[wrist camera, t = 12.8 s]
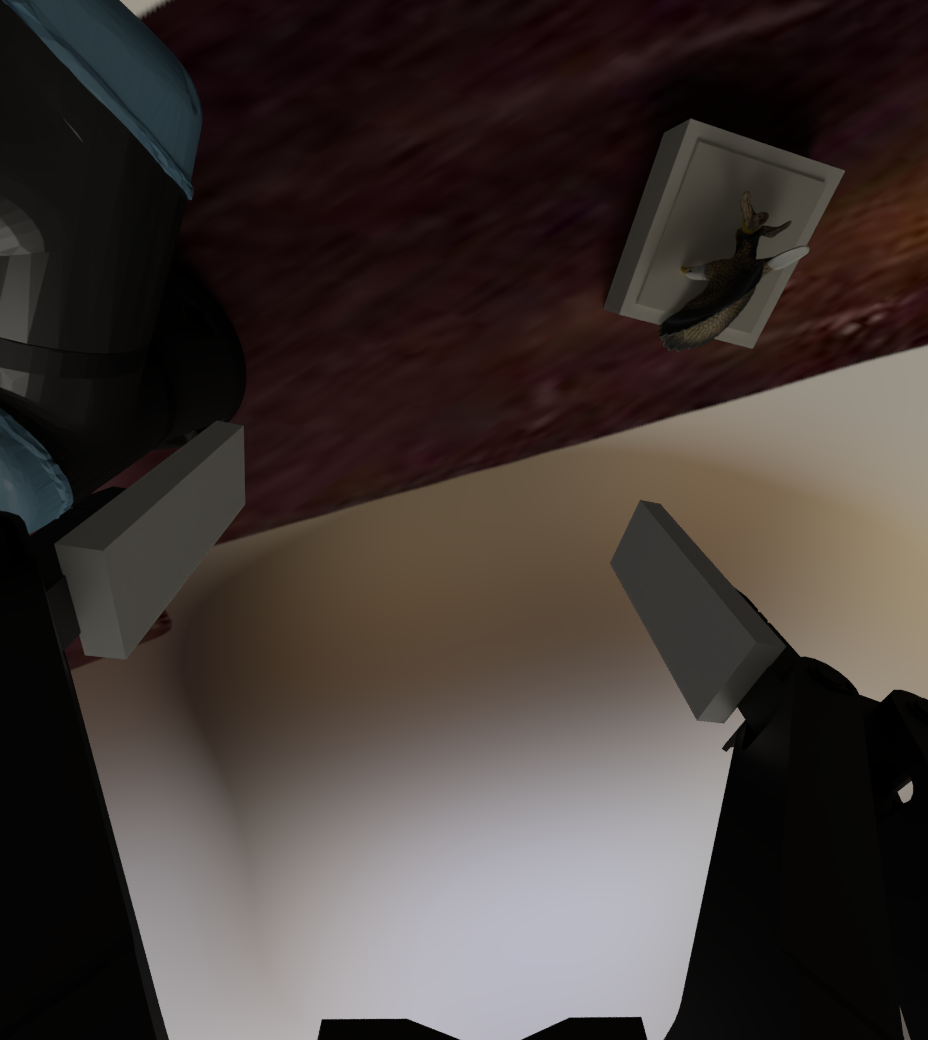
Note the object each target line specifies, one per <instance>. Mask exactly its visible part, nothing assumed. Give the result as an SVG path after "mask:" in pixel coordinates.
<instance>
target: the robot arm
mask: <svg viewBox="0 0 928 1040" xmlns="http://www.w3.org/2000/svg"><path fill="white" fill-rule="evenodd" d="M201 126H202V108H201V103H200V99H199V96H198V93H197V90H196V88H195V86H194V84H193V82H192V79H191V78H190V76H189V74H188V73H187V71H186V70H185V68H184V67H183V65H182V64H181V63H180V61H179V60H178V59H177V58H176V56H175V55H174V54H173V53H172V52H171V51H170V50H169V49H168V47H167V46H166V45H165V44H164V43H163V42H162V41H161V40H160V39H159V38H158V37H157V36H156V35H155V34H154V33H153V32H152V31H151V30H150V29H149V28H148V27H147V26H146V25H145V24H144V23H143V22H142V21H141V20H140V19H139V18H138V17H136V16H135V15H134V14H133V13H132V12H131V11H130V10H129V9H128V8H127V7H126V6H125V5H124V4H123V3H122V2H121V1H120V0H0V1040H169V1038H168V1035H167V1032H166V1028H165V1025H164V1021H163V1017H162V1014H161V1010H160V1007H159V1003H158V999H157V996H156V992H155V988H154V984H153V980H152V976H151V973H150V969H149V965H148V962H147V958H146V954H145V950H144V946H143V942H142V939H141V935H140V931H139V928H138V924H137V920H136V916H135V912H134V909H133V905H132V901H131V898H130V894H129V890H128V886H127V882H126V879H125V875H124V871H123V867H122V863H121V860H120V856H119V852H118V848H117V845H116V841H115V837H114V834H113V830H112V826H111V822H110V818H109V814H108V811H107V807H106V803H105V799H104V796H103V792H102V788H101V784H100V781H99V777H98V773H97V769H96V765H95V762H94V758H93V754H92V750H91V747H90V743H89V739H88V735H87V732H86V728H85V724H84V720H83V717H82V713H81V709H80V705H79V702H78V698H77V694H76V690H75V687H74V683H73V679H72V675H71V671H70V667H69V664H68V660H67V657H66V654H65V649H66V648H67V647H68V646H69V645H70V644H71V643H72V642H73V641H74V640H75V639H76V637H77V636H78V635H80V639H81V643H82V646H83V650H84V653H85V655H89V656H98V657H107V658H117V659H127V658H128V656H129V655H130V654H131V653H132V651H133V650H134V649H135V647H136V646H137V645H138V643H139V642H140V641H141V639H142V638H143V637H144V636H145V634H146V633H147V632H148V630H149V629H150V628H151V626H152V625H153V624H154V623H155V621H156V620H157V619H158V617H159V616H160V615H161V613H162V612H163V611H164V609H165V608H166V607H167V605H168V604H169V603H170V602H171V600H172V599H173V598H174V596H175V595H176V594H177V593H178V591H179V590H180V588H181V587H182V586H183V585H184V583H185V582H186V581H187V579H188V578H189V577H190V575H191V574H192V573H193V571H194V570H195V569H196V568H197V566H198V565H199V564H200V562H201V561H202V560H203V558H204V557H205V556H206V555H207V553H208V552H209V551H210V549H211V548H212V547H213V546H214V544H215V543H216V542H217V540H218V539H219V538H220V536H221V535H222V534H223V532H224V531H225V530H226V529H227V527H228V526H229V525H230V523H231V522H232V521H233V519H234V518H235V517H236V516H237V514H238V513H239V512H240V510H241V509H242V508H243V506H244V505H245V474H244V428H243V426H242V425H237V424H232V423H228V422H229V421H230V420H231V419H232V418H233V417H234V415H235V414H236V412H237V411H238V409H239V407H240V405H241V402H242V400H243V396H244V393H245V387H246V367H245V360H244V355H243V352H242V348H241V346H240V343H239V340H238V338H237V335H236V333H235V331H234V329H233V328H232V326H231V324H230V322H229V321H228V319H227V318H226V316H225V315H224V313H223V312H222V311H221V309H220V308H219V307H218V306H217V304H216V303H215V302H214V301H213V300H212V299H211V298H210V297H209V296H208V295H207V294H206V293H205V292H204V291H203V290H202V289H201V288H200V287H199V286H197V285H196V284H195V283H194V282H192V281H191V280H190V279H188V278H187V277H185V276H184V275H182V274H181V273H179V272H177V271H175V270H174V269H172V268H170V266H171V262H172V258H173V254H174V250H175V246H176V242H177V239H178V235H179V231H180V227H181V223H182V219H183V215H184V211H185V208H186V204H187V200H188V199H189V200H192V197H193V194H194V191H193V187H192V185H191V178H192V172H193V167H194V162H195V157H196V152H197V147H198V141H199V136H200V131H201ZM177 447H181V448H180V449H179V450H177V451H176V452H175V453H173V454H172V455H171V456H169V457H168V458H167V459H165V460H164V461H163V462H162V463H160V464H159V465H158V466H156V467H155V468H154V469H152V470H151V471H150V472H148V473H147V474H146V475H144V476H143V477H142V478H140V479H139V480H138V481H137V482H135V483H134V484H133V485H131V486H130V487H129V488H127V489H126V488H120V487H114V486H113V487H110V488H107V489H105V490H102V491H99V492H96V493H93V494H91V493H92V492H94V491H95V490H97V489H98V488H100V487H101V486H102V485H104V484H105V483H107V482H108V481H109V480H111V479H112V478H114V477H115V476H117V475H118V474H119V473H121V472H122V471H124V470H125V469H127V468H128V467H129V466H131V465H132V464H134V463H135V462H136V461H138V460H139V459H141V458H142V457H144V456H145V455H146V454H148V453H149V452H150V451H153V450H161V449H169V448H177ZM90 494H91V495H90ZM88 495H89V496H88ZM85 497H86V498H85ZM78 502H79V503H78ZM75 504H76V505H75ZM71 507H73V509H70V508H71ZM43 526H44V527H43ZM41 527H43V528H41ZM39 528H41V529H40V530H38V531H37V532H35V533H34V534H33V535H31V536H30V537H29V534H30V533H32V532H33V531H35V530H37V529H39ZM610 564H611V566H612V568H613V570H614V571H615V573H616V575H617V577H618V578H619V580H620V582H621V584H622V586H623V588H624V589H625V591H626V593H627V595H628V597H629V599H630V600H631V602H632V604H633V606H634V608H635V609H636V611H637V613H638V615H639V616H640V618H641V620H642V622H643V624H644V626H645V627H646V629H647V631H648V633H649V634H650V636H651V638H652V640H653V642H654V644H655V645H656V647H657V649H658V651H659V653H660V654H661V656H662V658H663V660H664V662H665V663H666V665H667V667H668V669H669V671H670V672H671V674H672V676H673V678H674V680H675V682H676V683H677V685H678V687H679V689H680V690H681V692H682V694H683V696H684V698H685V700H686V701H687V703H688V705H689V707H690V709H691V710H692V712H693V714H694V716H695V718H696V719H697V720H698V721H707V722H717V723H724V722H725V721H726V720H727V719H728V718H729V717H730V715H731V714H732V713H733V712H734V710H735V709H736V708H737V707H738V708H739V710H740V712H741V713H742V715H743V716H744V718H745V719H746V720H745V721H744V722H743V724H742V725H741V726H740V727H739V728H738V729H737V731H736V732H735V733H734V734H733V735H732V737H731V738H730V739H729V740H728V741H727V742H726V744H725V745H724V746H723V748H722V749H723V750H725V751H726V752H727V751H728V749H729V748H730V747H734V749H733V754H732V759H731V764H730V769H729V774H728V779H727V783H726V788H725V793H724V798H723V802H722V807H721V812H720V817H719V822H718V827H717V831H716V837H715V841H714V846H713V851H712V856H711V861H710V865H709V871H708V875H707V880H706V885H705V890H704V894H703V899H702V904H701V909H700V914H699V918H698V923H697V928H696V933H695V938H694V943H693V948H692V952H691V957H690V962H689V967H688V972H687V976H686V981H685V987H684V991H683V996H682V1001H681V1004H680V1008H679V1011H678V1014H677V1016H676V1019H675V1021H674V1023H673V1025H672V1027H671V1028H670V1030H669V1032H668V1033H667V1035H666V1037H665V1039H664V1040H904V1036H903V1030H902V1022H901V1015H900V1008H901V1011H902V1014H903V1017H904V1021H905V1023H906V1027H907V1029H908V1033H909V1036H910V1039H911V1040H928V700H927V699H925V698H921V697H919V696H917V695H915V694H913V693H910V692H907V691H903V690H893V691H892V692H891V693H890V694H889V695H888V696H887V697H886V698H885V699H884V700H883V701H882V702H878V701H875V700H873V699H870V698H867V697H865V696H862V695H859V693H858V691H857V689H856V688H855V687H854V685H853V684H852V683H851V682H850V681H849V680H848V679H847V678H846V677H844V676H843V675H842V674H841V673H840V672H839V671H837V670H835V669H834V668H832V667H831V666H829V665H827V664H825V663H823V662H821V661H819V660H816V659H814V658H809V657H800V656H799V655H798V654H797V653H796V651H795V650H794V649H793V648H792V647H791V646H790V645H789V644H788V642H787V641H786V640H785V639H784V638H783V637H782V636H781V635H780V633H779V632H778V631H777V630H776V629H775V628H774V627H773V626H772V625H771V624H770V623H768V622H767V619H766V618H765V617H764V616H763V614H762V613H761V612H758V609H757V608H756V607H755V606H754V604H753V603H752V602H751V601H750V600H749V599H748V598H747V597H746V596H745V595H744V594H742V593H741V592H739V591H738V590H737V589H736V588H734V587H733V586H732V585H731V583H730V582H729V581H728V580H727V579H726V578H725V577H724V576H723V574H722V573H721V572H720V571H719V570H718V569H717V568H716V567H715V565H714V564H713V563H712V562H711V561H710V560H709V559H708V557H706V555H705V554H704V553H703V552H702V551H701V550H700V549H699V547H698V546H697V545H696V544H695V543H694V542H693V541H692V539H690V537H689V536H688V535H687V534H686V533H685V531H684V530H683V529H682V528H681V527H680V526H679V525H678V524H677V522H676V521H675V520H674V519H673V518H672V517H671V516H670V515H669V513H668V512H667V511H666V510H665V509H664V508H663V507H662V505H661V504H658V503H652V502H647V501H642V500H640V501H639V503H638V505H637V508H636V510H635V512H634V514H633V516H632V518H631V520H630V522H629V525H628V527H627V529H626V531H625V533H624V535H623V537H622V539H621V541H620V543H619V545H618V547H617V550H616V552H615V554H614V556H613V558H612V560H611V562H610ZM910 781H912V783H913V795H912V797H911V800H909V801H908V802H906V803H903V802H902V801H901V799H900V797H899V794H898V791H899V790H900V789H902V788H903V787H904V786H905V785H907V784H908V783H909V782H910ZM899 1005H900V1006H899ZM318 1040H459V1039H457V1038H454V1037H452V1036H449V1035H447V1034H444V1033H442V1032H439V1031H437V1030H434V1029H432V1028H429V1027H426V1026H424V1025H421V1024H419V1023H416V1022H413V1021H411V1020H409V1019H322V1021H321V1026H320V1030H319V1035H318ZM522 1040H647V1037H646V1033H645V1029H644V1025H643V1022H642V1018H641V1017H590V1018H589V1017H588V1018H586V1017H585V1018H568V1019H566V1020H563V1021H561V1022H559V1023H557V1024H555V1025H552V1026H550V1027H548V1028H546V1029H544V1030H541V1031H539V1032H537V1033H535V1034H533V1035H531V1036H529V1037H526V1038H524V1039H522Z"/></svg>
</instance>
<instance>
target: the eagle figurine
mask: <svg viewBox="0 0 928 1040" xmlns="http://www.w3.org/2000/svg"><path fill="white" fill-rule="evenodd" d="M750 197H751V196H750V193H749V191H746V192H744V194H743V196H742V198H741V201H740V207H741V212H742V213H743V216H742V227H741V228H739V229H738V230H737V232H736V235H735V237H736V243H737V244H736V252H735V253H734V256H733V257H732V258H730V259H720V260H717V261H712V262H709V263H706V264H703V265H699V266H694V267H689V268H686V267H684V266H682V267H681V272H682V273H683V274H685V275H686V276H687V277H689V278H691V279H694V280H705V281H709V283H708V284H707V286H706V288H705V289H704V290H703V291H702V292H701V293H700V294H699V295H697V296H696V297H694V298H693V299H691V300H690V301H689V302H688V303H686V304H685V306H684V307H683V308H682V309H681V310H680V311H679V312H676V313H675V314H673V315H671V316H670V317H669V318H667V319H666V320H665V321H664V322H663V323H662V324H661V325H660V328H661V329H660V331H659V333H660V335H659V337H661V340H663V341H664V343H663V346H664V347H668V350H669V351H672V350H675V349H677V351H682V350H684V349H685V348H687V347H688V349H692V348H693V347H695V346H696V347H700V346H701V345H704V344H706V343H707V342H708V341H711V340H713V339H714V338H715V337H717V336H719V335H720V333H721V332H722V331H724V330H725V329H726V328H727V327H728V326H729V325H730V323H731V322H733V321H734V319H735V318H736V317H738V315H739V314H740V312H741V311H743V309H744V308H745V306H746V305H747V303H748V302H749V301H750V299H751V297H752V295H753V294H754V290H755V289H756V286H757V284H758V283H759V282H760V280H761V278H762V277H763V276H765V275H766V274H768V273H769V272H771V271H772V270H779V269H782V268H785V267H787V266H789V265H790V264H792V263H793V262H795V261H796V260H798V259H800V258H802V257H803V256H805V255H806V254H807V253H809V249H810V247H809V246H798V247H795V248H792V249H790V250H787V251H785V252H782V253H780V254H778V255H776V256H774V257H769V258H764V259H756V256H757V253H756V252H757V246H758V242H759V238H760V237H761V236H765V237H768V238H774V237H775V236H776V235H777V234H778V233H780V232H782V231H783V230H785V229H786V228H788V227H789V225H790V224H791V222H792V221H788V222H786V223H784V224H783V225H781V226H779V227H771V226H765V225H764V224H765V223H766V221H767V220H768V218H769V214H768V213H767V212H760V213H758V214H756V213H755V211H754V209H753V207H752V205H751V203H750Z"/></svg>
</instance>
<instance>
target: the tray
mask: <svg viewBox="0 0 928 1040" xmlns="http://www.w3.org/2000/svg"><path fill="white" fill-rule="evenodd" d="M844 172H845V171H844V170H841V169H838V168H835V167H832V166H829V165H826V164H823V163H820V162H817V161H814V160H811V159H808V158H805V157H802V156H799V155H797V154H794V153H791V152H788V151H785V150H782V149H779V148H776V147H773V146H770V145H767V144H764V143H761V142H758V141H755V140H752V139H749V138H746V137H743V136H740V135H737V134H734V133H731V132H729V131H726V130H723V129H720V128H717V127H714V126H711V125H708V124H705V123H702V122H699V121H696V120H693V119H689V120H687V121H685V122H683V123H682V124H680V125H678V126H676V127H674V128H672V129H670V130H668V131H666V132H665V133H664V135H663V138H662V140H661V143H660V146H659V149H658V152H657V155H656V158H655V161H654V164H653V166H652V169H651V172H650V175H649V178H648V181H647V184H646V187H645V189H644V192H643V195H642V198H641V201H640V204H639V207H638V210H637V213H636V215H635V218H634V221H633V224H632V227H631V230H630V233H629V236H628V239H627V241H626V244H625V247H624V250H623V253H622V256H621V259H620V262H619V264H618V267H617V270H616V273H615V276H614V279H613V282H612V285H611V288H610V290H609V293H608V296H607V299H606V302H605V305H604V308H603V309H605V310H608V311H611V312H614V313H616V314H619V315H623V316H627V317H631V318H635V319H639V320H643V321H647V322H651V323H655V324H659V325H661V324H662V323H663V322H664V321H665V320H666V319H667V318H669V317H670V316H671V315H673V314H675V313H676V312H679V311H680V310H681V309H682V308H683V307H684V306H685V304H686V303H688V302H689V301H690V300H691V299H693V298H694V297H696V296H697V295H699V294H700V293H701V292H702V291H703V290H704V289H705V288H706V286H707V284H708V283H709V281H705V280H694V279H691V278H689V277H687V276H686V275H685V274H683V273H682V272H681V267H682V266H684V267H686V268H689V267H694V266H699V265H703V264H706V263H709V262H712V261H717V260H720V259H730V258H732V257H733V256H734V253H735V252H736V244H737V243H736V237H735V235H736V232H737V230H738V229H739V228H741V227H742V216H743V213H742V212H741V207H740V201H741V198H742V196H743V194H744V192H746V191H749V193H750V196H751V197H750V203H751V205H752V207H753V209H754V211H755V213H756V214H758V213H760V212H767V213H768V214H769V218H768V220H767V221H766V223H765V224H764V225H765V226H771V227H779V226H781V225H783V224H784V223H786V222H788V221H792V222H791V224H790V225H789V227H788V228H786V229H785V230H783V231H782V232H780V233H778V234H777V235H776V236H775V237H774V238H768V237H765V236H761V237H760V238H759V242H758V246H757V252H756V253H757V256H756V259H764V258H769V257H774V256H776V255H778V254H780V253H782V252H785V251H787V250H790V249H792V248H795V247H798V246H806V245H807V243H808V241H809V239H810V238H811V236H812V234H813V232H814V230H815V228H816V226H817V224H818V222H819V220H820V218H821V216H822V214H823V213H824V211H825V209H826V207H827V205H828V203H829V201H830V199H831V197H832V195H833V193H834V191H835V189H836V188H837V186H838V184H839V182H840V180H841V178H842V176H843V174H844ZM798 261H799V259H798V260H796V261H795V262H793V263H792V264H790V265H789V266H787V267H785V268H782V269H779V270H772V271H771V272H769V273H768V274H766V275H765V276H763V277H762V278H761V280H760V282H759V283H758V284H757V286H756V289H755V290H754V294H753V295H752V297H751V299H750V301H749V302H748V303H747V305H746V306H745V308H744V309H743V311H741V312H740V314H739V315H738V317H736V318H735V319H734V321H733V322H731V323H730V325H729V326H728V327H727V328H726V329H725V330H724V331H722V332H721V333H720V335H719V336H717V337H715V338H714V339H717V340H721V341H725V342H729V343H733V344H737V345H741V346H744V347H748V348H752V349H753V347H754V345H755V343H756V341H757V340H758V338H759V336H760V334H761V332H762V330H763V328H764V326H765V324H766V322H767V320H768V318H769V316H770V315H771V313H772V311H773V309H774V307H775V305H776V303H777V301H778V299H779V297H780V295H781V293H782V291H783V290H784V288H785V286H786V284H787V282H788V280H789V278H790V276H791V274H792V272H793V270H794V268H795V266H796V264H797V263H798Z"/></svg>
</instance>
